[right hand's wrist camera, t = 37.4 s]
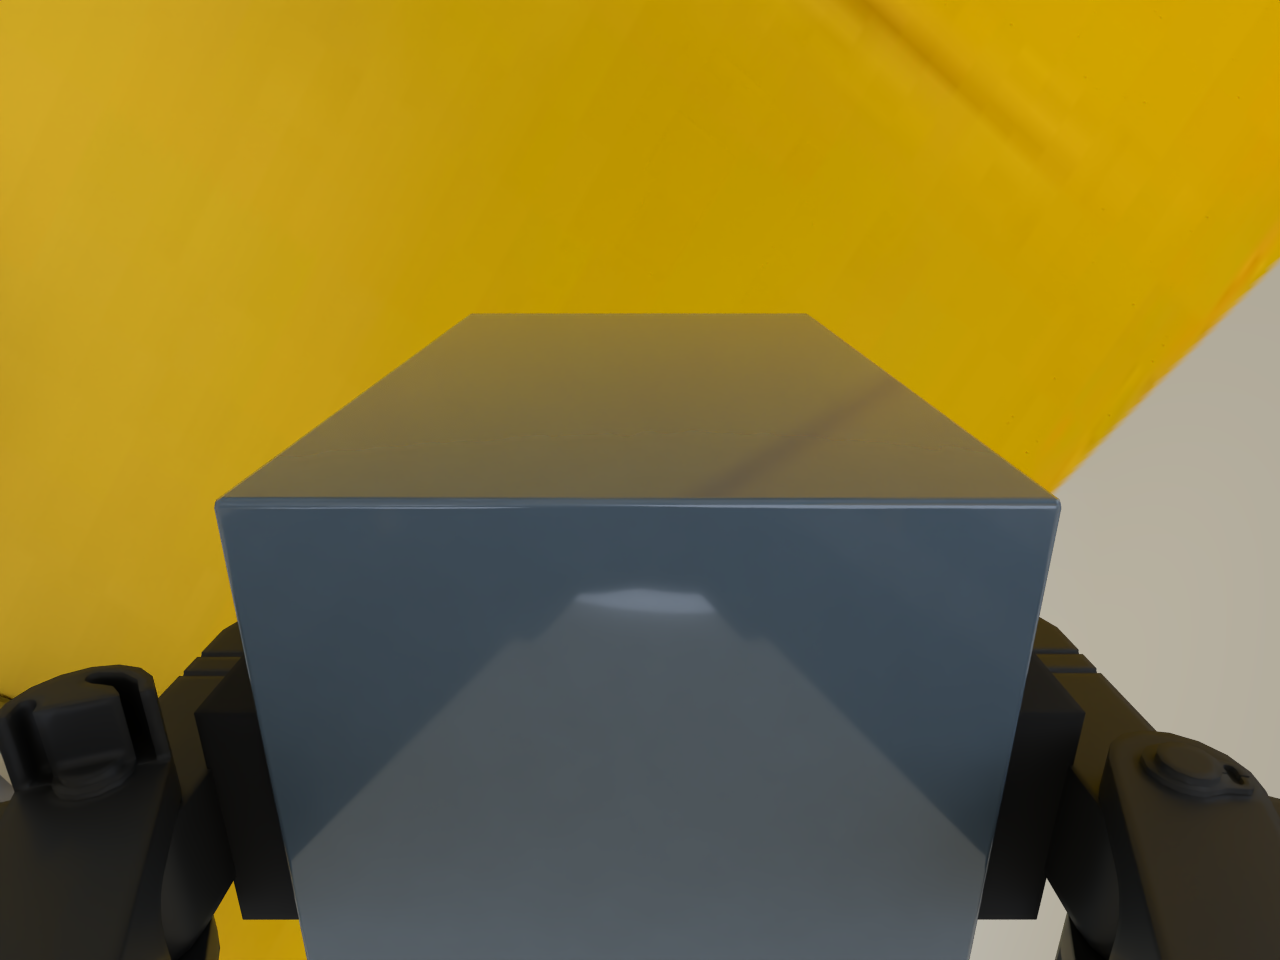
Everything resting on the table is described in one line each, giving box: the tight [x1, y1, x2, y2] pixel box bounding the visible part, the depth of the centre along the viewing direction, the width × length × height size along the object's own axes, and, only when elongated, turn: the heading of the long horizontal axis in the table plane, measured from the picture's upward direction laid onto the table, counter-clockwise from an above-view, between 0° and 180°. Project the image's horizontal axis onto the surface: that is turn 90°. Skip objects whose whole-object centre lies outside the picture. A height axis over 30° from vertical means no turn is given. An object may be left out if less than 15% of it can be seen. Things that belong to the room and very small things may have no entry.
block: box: [215, 314, 1061, 960], centre depth 13 cm, size 8×7×11 cm
